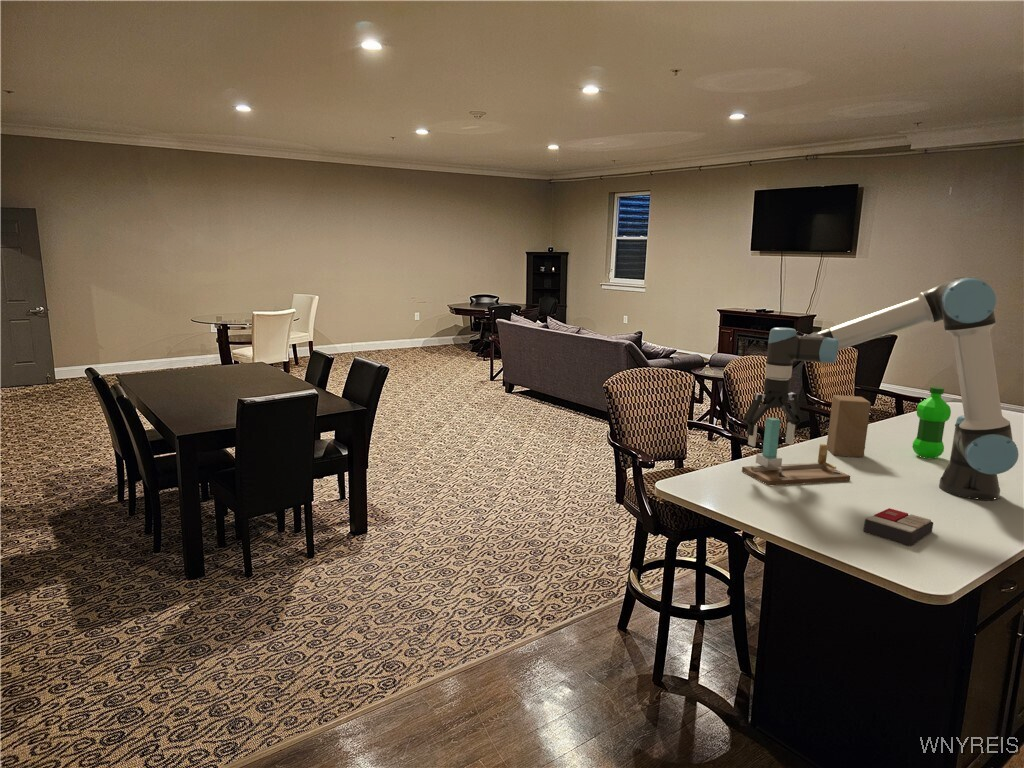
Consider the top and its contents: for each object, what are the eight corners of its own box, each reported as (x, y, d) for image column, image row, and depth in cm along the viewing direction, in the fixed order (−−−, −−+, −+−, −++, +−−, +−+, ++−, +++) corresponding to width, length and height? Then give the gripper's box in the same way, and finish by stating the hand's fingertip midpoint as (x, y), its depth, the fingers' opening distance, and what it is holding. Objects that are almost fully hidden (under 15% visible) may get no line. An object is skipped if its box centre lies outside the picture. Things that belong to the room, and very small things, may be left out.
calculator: (934, 519, 168) (913, 530, 158) (931, 535, 169) (910, 547, 159) (887, 506, 176) (864, 516, 166) (885, 521, 177) (862, 532, 167)
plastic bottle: (950, 459, 234) (961, 390, 229) (929, 462, 230) (940, 391, 225) (923, 451, 243) (934, 384, 238) (903, 454, 239) (913, 385, 234)
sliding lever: (787, 474, 205) (793, 423, 202) (773, 475, 204) (779, 424, 201) (768, 465, 214) (774, 416, 211) (755, 465, 213) (760, 416, 210)
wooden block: (863, 458, 232) (871, 402, 229) (833, 455, 234) (840, 400, 231) (855, 450, 242) (862, 396, 238) (825, 448, 244) (832, 394, 240)
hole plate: (849, 480, 207) (853, 453, 205) (769, 485, 200) (772, 457, 198) (818, 466, 220) (821, 441, 219) (741, 471, 213) (744, 445, 211)
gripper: (804, 375, 212) (796, 439, 216) (735, 376, 205) (728, 442, 209) (820, 379, 205) (812, 446, 209) (749, 380, 198) (742, 449, 202)
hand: (770, 444), depth 209 cm, fingers open, 13 cm apart
